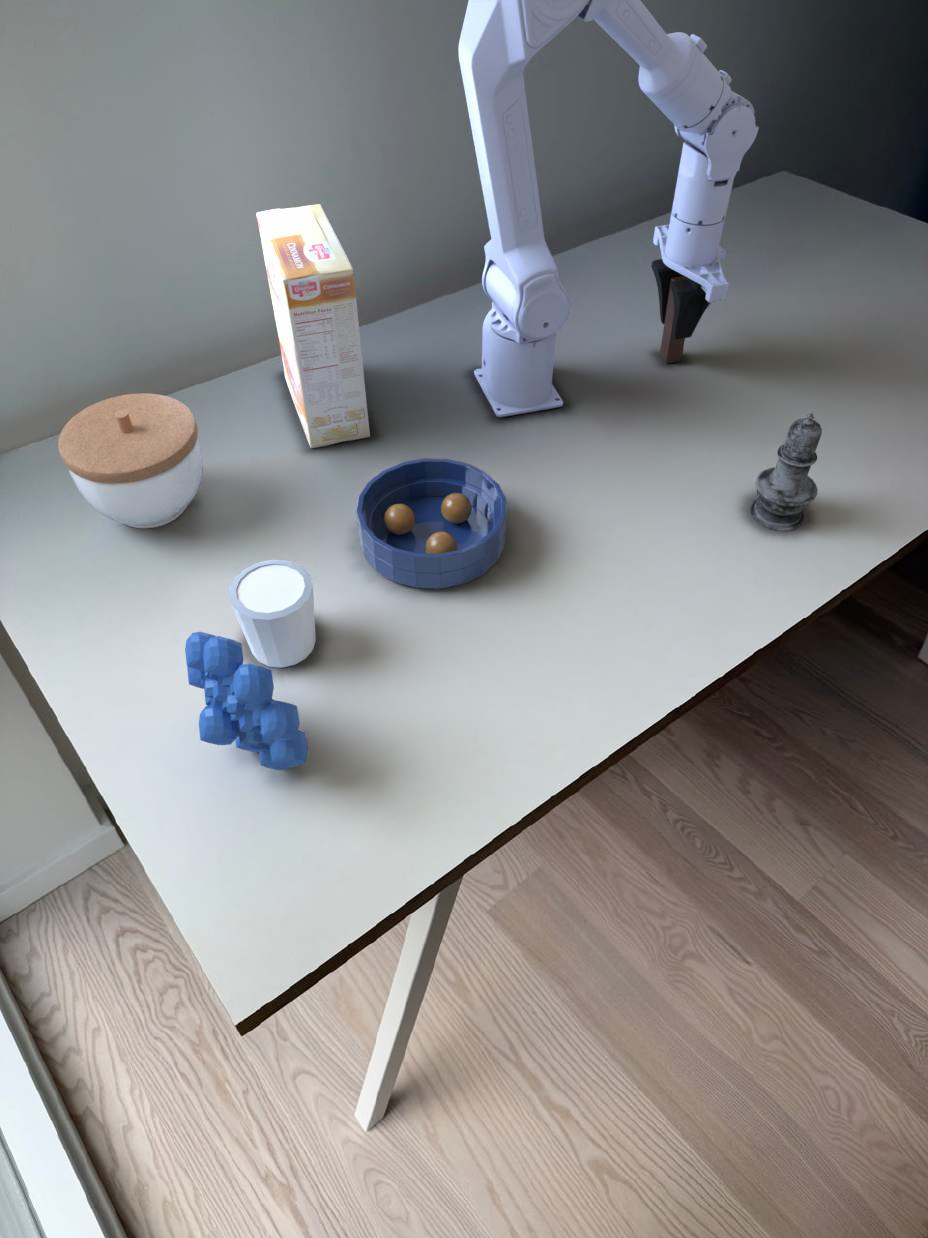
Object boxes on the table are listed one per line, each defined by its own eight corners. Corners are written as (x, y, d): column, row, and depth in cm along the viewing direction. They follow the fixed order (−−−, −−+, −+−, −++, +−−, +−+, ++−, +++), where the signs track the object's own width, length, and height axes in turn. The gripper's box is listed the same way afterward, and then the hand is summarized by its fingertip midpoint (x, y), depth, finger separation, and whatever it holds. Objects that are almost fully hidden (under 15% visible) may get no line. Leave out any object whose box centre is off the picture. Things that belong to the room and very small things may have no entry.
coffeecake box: (283, 376, 106) (253, 210, 91) (341, 365, 107) (322, 201, 93) (308, 450, 96) (280, 279, 82) (372, 437, 98) (355, 267, 83)
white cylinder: (246, 616, 80) (231, 560, 75) (323, 611, 81) (313, 555, 76) (240, 676, 76) (224, 621, 71) (321, 670, 76) (311, 615, 71)
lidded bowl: (238, 480, 93) (216, 389, 85) (173, 560, 85) (142, 468, 77) (133, 455, 96) (102, 365, 88) (62, 530, 88) (20, 439, 80)
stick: (659, 355, 109) (670, 277, 101) (674, 352, 109) (687, 274, 102) (666, 363, 108) (678, 286, 100) (681, 360, 108) (694, 283, 100)
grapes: (169, 743, 71) (126, 647, 62) (233, 690, 75) (201, 592, 66) (268, 825, 66) (237, 734, 57) (332, 765, 70) (312, 670, 61)
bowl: (348, 507, 90) (343, 472, 87) (480, 482, 93) (481, 447, 89) (378, 605, 81) (374, 570, 78) (524, 574, 84) (526, 539, 80)
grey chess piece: (809, 536, 87) (848, 436, 78) (747, 529, 88) (779, 428, 79) (805, 498, 91) (842, 398, 82) (746, 491, 92) (776, 391, 83)
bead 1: (381, 523, 88) (379, 500, 86) (411, 518, 88) (410, 494, 86) (388, 543, 86) (386, 520, 84) (418, 537, 86) (417, 514, 84)
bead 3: (422, 551, 85) (421, 528, 83) (452, 545, 86) (452, 522, 84) (430, 573, 83) (429, 549, 81) (461, 566, 84) (461, 543, 82)
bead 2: (437, 512, 89) (437, 489, 87) (466, 507, 89) (466, 484, 87) (445, 532, 87) (445, 509, 85) (475, 526, 88) (475, 503, 85)
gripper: (765, 238, 91) (735, 356, 102) (702, 181, 101) (680, 294, 111) (703, 247, 90) (678, 365, 100) (644, 189, 99) (627, 302, 110)
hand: (675, 329), depth 105 cm, fingers open, 3 cm apart
